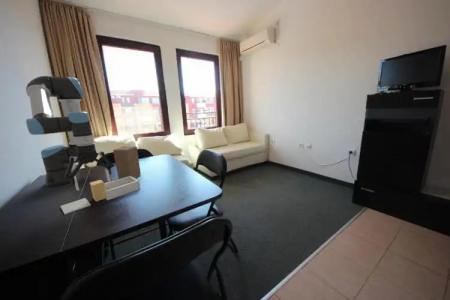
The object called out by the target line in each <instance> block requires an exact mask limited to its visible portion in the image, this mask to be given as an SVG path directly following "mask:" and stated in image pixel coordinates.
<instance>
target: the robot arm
mask: <svg viewBox="0 0 450 300" xmlns="http://www.w3.org/2000/svg"><path fill="white" fill-rule="evenodd" d="M25 89H26V90H25V91H26V92H25V93H26V95H27V96H28V97H29V100H30V108H31V115H32V117H31V118H27V119H26V120H25V123H26V128H27V130H28V133H29V134H30V135H32V136H37V135H49V134H59V133H60V134H61V133H68V135H69V138H70V141H69V142H68V146H65V144H57V145H56V144H55V145H53V146H49V147H46V148H43V149H42V150H41V151H40V154H41V159H42V163H43V166H44V170H45V178H44V184H45V186H46V187H58V186H62V185H63V186H64V185H66V184H70V183H71V184H72V185H74V186H75V189H76V191H80V187H79V183H78V180H77V177H76V175H77V173H79V171H80V169H81V167H82V166H83V165H84V164H85V165H86V164H87V165H88V164H92V163H95V162H97V163H98V165H99V164H100V165H101V166H103V167H104V171H105V172H104V173H105V175H106V180H107V182H111V175H112V171H111V168H114V167H115V166H114V163H112V162H111V161H110V160H109V158H108V157H107V156H106V155H105V152H104V151H102V150H100V151H97V149H96V144H95V141H94V140H95V139H94V135H93V131H92V125H91V120H90V116H89V113H88V112H87V111H82V108H81V104H80V102H81V101H82V97H84V92H83V88H82V86H81V83H80V82H79V79H78V78H76V77H72V76H71V77H70V76H52V75H41V76H37V77H35V78H33V79H31V80H30V81H29V82H28V83H27V84H26V88H25ZM50 98H57V101H59V102H60V103H61V105H62V109H63V112H64V114H63V115H64V116H54V112H53V108H52V104H51V100H50ZM98 156H100V157H101V158H102V159H103V160H104V161H105V162H106V163H107V164H108V165H107V164H106V163H104V162H103V161H101V160H100V159H99V158H98ZM74 164H77V165H76V166H75V167H74ZM73 168H74V169H73Z"/></svg>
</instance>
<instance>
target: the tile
mask: <svg viewBox="0 0 450 300" xmlns="http://www.w3.org/2000/svg"><path fill="white" fill-rule="evenodd" d="M90 206H92V205H91V203H90V202H89V200H88V199H87V198H86V197H84V198H81V199H78V200H73V201H72V202H68V203H65V204H63V205H60V208H61V210H62V212H63V214H64V215H67V214H70V213H73V212H76V211H78V210H81V209H85V208H87V207H90Z"/></svg>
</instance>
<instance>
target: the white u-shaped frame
mask: <svg viewBox="0 0 450 300" xmlns="http://www.w3.org/2000/svg"><path fill="white" fill-rule="evenodd" d="M104 185H105V190H106V191H105V194H106V198H105V199H106V200H107V201H110V200H112V199H115V198H119V197H122V196H124V195H126V194H129V193H132V192H135V191H137V190H140V189H141V187H140V186H141V185H140V180H138V179H136V177H135V178H133V177H131V176H128V177H124V178H121V179H118V178H117V179H114V180H112V181H111V180H110V181H107V182H104Z"/></svg>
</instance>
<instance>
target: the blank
mask: <svg viewBox="0 0 450 300" xmlns="http://www.w3.org/2000/svg"><path fill="white" fill-rule="evenodd" d="M104 183H105V182H104V181H103V180H102V179H99V180H98V179H97V180H95V181H91V182H89V185H90V186H89V187H90V190H91V194H92V199H93V201H95V202H99V201H102V200H106V199H107V198H106V194H105V191H106V190H105V185H104Z"/></svg>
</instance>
